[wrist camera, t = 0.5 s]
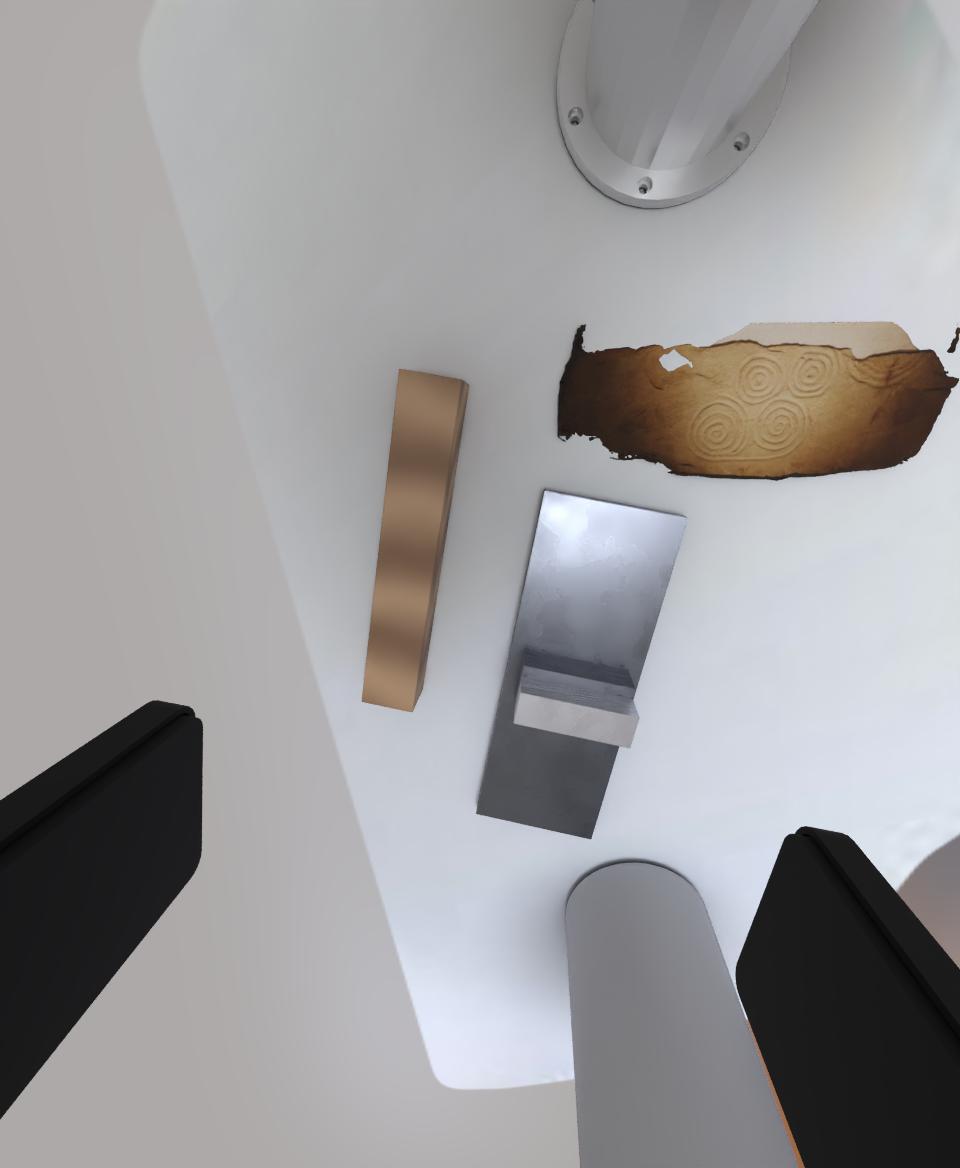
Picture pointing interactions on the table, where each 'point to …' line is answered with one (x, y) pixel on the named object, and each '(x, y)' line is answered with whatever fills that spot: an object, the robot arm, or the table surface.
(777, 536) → the table surface
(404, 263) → the table surface
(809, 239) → the table surface
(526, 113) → the table surface
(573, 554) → the stand
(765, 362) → the parchment
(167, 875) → the robot arm
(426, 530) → the walnut bar
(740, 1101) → the cylinder vase
